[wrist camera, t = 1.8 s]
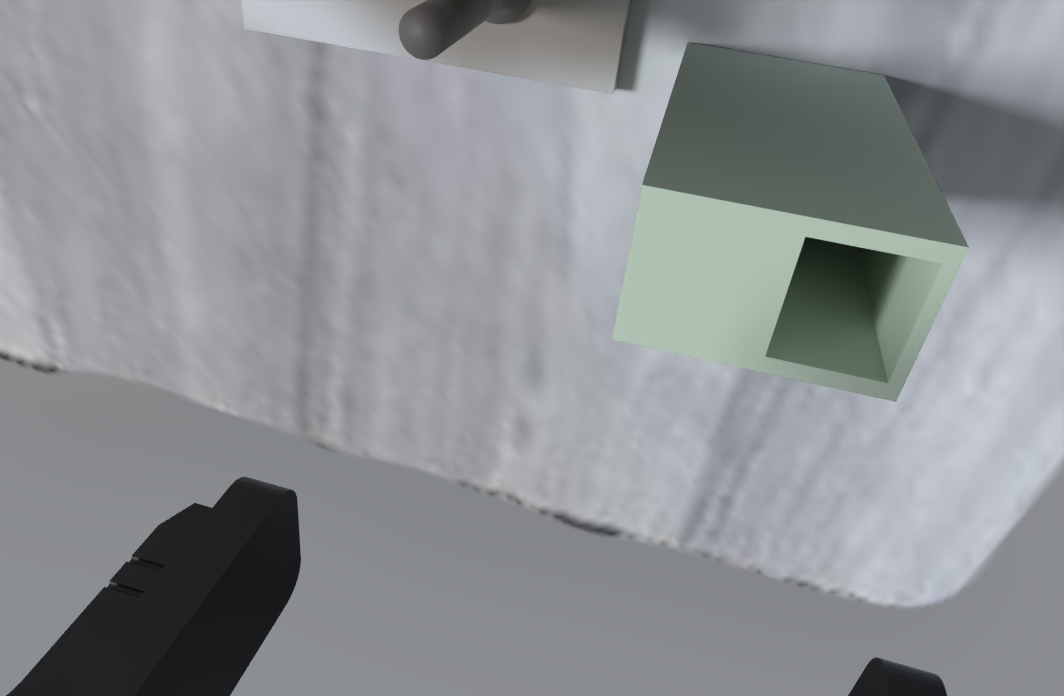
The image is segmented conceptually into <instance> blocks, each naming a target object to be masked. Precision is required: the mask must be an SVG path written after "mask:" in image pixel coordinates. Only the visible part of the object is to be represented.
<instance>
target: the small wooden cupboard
mask: <svg viewBox="0 0 1064 696" xmlns="http://www.w3.org/2000/svg"><path fill="white" fill-rule="evenodd" d="M241 1H242V11H243V21H244V29H249V30H255V31H260V32H266V33H272V34H277V35H283V36H288V37H294V38H300V39H305V40H311V41H317V42H322V43H328V44H334V45H339V46H345V47H351V48H356V49H362V50H368V51H373V52H379V53H385V54H390V55H396V56H401V57H407V58H413V59H418V60H424V61H430V62H435V63H441V64H447V65H452V66H458V67H464V68H469V69H475V70H481V71H486V72H492V73H498V74H503V75H509V76H514V77H520V78H526V79H531V80H537V81H543V82H548V83H554V84H560V85H565V86H571V87H577V88H582V89H588V90H594V91H599V92H605V93H611V94H613V93H614V91H615V89H616V85H617V79H618V73H619V66H620V60H621V54H622V48H623V42H624V36H625V30H626V24H627V18H628V11H629V5H630V0H241Z"/></svg>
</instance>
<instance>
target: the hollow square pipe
mask: <svg viewBox="0 0 1064 696" xmlns="http://www.w3.org/2000/svg"><path fill="white" fill-rule="evenodd" d="M968 248H969V247H968V245H967V243H966V241H965V239H964V237H963V235H962V233H961V231H960V229H959V227H958V225H957V222H956V220H955V218H954V216H953V214H952V212H951V210H950V208H949V206H948V204H947V202H946V200H945V198H944V196H943V194H942V192H941V190H940V188H939V186H938V184H937V182H936V180H935V178H934V176H933V174H932V172H931V170H930V168H929V165H928V163H927V161H926V159H925V157H924V155H923V153H922V151H921V149H920V147H919V145H918V143H917V141H916V139H915V137H914V135H913V133H912V131H911V129H910V127H909V125H908V123H907V121H906V119H905V117H904V115H903V113H902V111H901V108H900V106H899V104H898V102H897V100H896V98H895V96H894V94H893V92H892V90H891V88H890V86H889V84H888V82H887V80H886V78H885V76H884V75H881V74H875V73H869V72H863V71H857V70H851V69H845V68H839V67H833V66H827V65H821V64H815V63H809V62H803V61H797V60H791V59H785V58H779V57H772V56H766V55H760V54H754V53H748V52H742V51H736V50H730V49H724V48H718V47H712V46H706V45H700V44H694V43H687V46H686V50H685V53H684V56H683V59H682V62H681V65H680V68H679V71H678V75H677V78H676V81H675V84H674V87H673V90H672V93H671V96H670V100H669V103H668V106H667V109H666V112H665V115H664V118H663V121H662V124H661V128H660V131H659V134H658V137H657V140H656V143H655V146H654V149H653V153H652V156H651V159H650V162H649V165H648V168H647V171H646V174H645V177H644V181H643V184H642V188H641V193H640V198H639V203H638V208H637V214H636V219H635V224H634V229H633V234H632V239H631V244H630V249H629V254H628V259H627V264H626V270H625V275H624V280H623V285H622V290H621V295H620V300H619V305H618V310H617V315H616V320H615V326H614V331H613V336H612V340H617V341H621V342H626V343H631V344H635V345H640V346H644V347H649V348H653V349H658V350H663V351H667V352H672V353H676V354H681V355H685V356H690V357H694V358H699V359H704V360H708V361H713V362H717V363H722V364H726V365H731V366H735V367H740V368H745V369H749V370H754V371H758V372H763V373H767V374H772V375H777V376H781V377H786V378H790V379H795V380H799V381H804V382H808V383H813V384H818V385H822V386H827V387H831V388H836V389H840V390H845V391H850V392H854V393H859V394H863V395H868V396H872V397H877V398H881V399H886V400H891V401H895V402H896V401H897V398H898V396H899V394H900V392H901V390H902V388H903V386H904V384H905V382H906V379H907V377H908V375H909V373H910V371H911V369H912V367H913V365H914V362H915V360H916V358H917V356H918V354H919V352H920V350H921V348H922V346H923V343H924V341H925V339H926V337H927V335H928V333H929V331H930V329H931V327H932V324H933V322H934V320H935V318H936V316H937V314H938V312H939V310H940V307H941V305H942V303H943V301H944V299H945V297H946V295H947V293H948V291H949V288H950V286H951V284H952V282H953V280H954V278H955V276H956V274H957V271H958V269H959V267H960V265H961V263H962V261H963V259H964V257H965V255H966V252H967V250H968Z"/></svg>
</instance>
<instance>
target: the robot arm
mask: <svg viewBox="0 0 1064 696" xmlns="http://www.w3.org/2000/svg"><path fill="white" fill-rule="evenodd" d="M297 506H298V505H297V496H296V493H295V492H294V491H293V490H290V489H287V488H283V487H279V486H276V485H273V484H269V483H265V482H262V481H259V480H255V479H252V478H248V477H241V478H239V479H237V480H236V481H235V482H234V483H233V484H232V485H231V486H230V487H229V488H228V490H227V491H226V492H225V493H224V494H223V496H222V497H221V498H220V499H219V501H218V502H217V503H216V504H215V506H214V507H213V508H210V507H207V506H204V505H200V504H196V503H194V504H192V505H191V506H189V507H188V508H186V509H184V510H183V511H181V512H179V513H178V514H176V515H174V516H173V517H171V518H170V519H168V520H166V521H165V522H163V523H161V524H160V525H158V527H157V528H156V529H155V530H154V531H153V532H152V533H151V534H150V536H149V537H148V538H147V539H146V540H145V541H144V543H143V544H142V545H141V546H140V547H139V548H138V549H137V550H136V552H135V553H134V554H133V555H132V559H131V561H130V562H126V563H125V564H124V565H123V566H122V568H121V569H120V570H119V571H118V572H117V573H116V574H115V575H114V577H113V578H112V579H111V580H110V584H109V586H108V587H107V588H106V587H104V588H103V589H102V590H101V591H100V593H99V594H98V595H97V596H96V597H95V599H94V600H93V601H92V602H91V603H90V604H89V605H88V606H87V608H86V609H85V610H84V611H83V612H82V613H81V614H80V615H79V617H78V618H77V619H76V620H75V621H74V622H73V623H72V624H71V626H70V627H69V628H68V629H67V630H66V631H65V632H64V634H63V635H62V636H61V637H60V638H59V639H58V640H57V642H56V643H55V644H54V645H53V646H52V647H51V648H50V650H49V651H48V652H47V653H46V654H45V655H44V656H43V658H42V659H41V660H40V661H39V662H38V663H37V664H36V666H35V667H34V668H33V669H32V670H31V671H30V672H29V674H28V675H27V676H26V677H25V678H24V679H23V680H22V681H21V682H20V683H19V684H18V685H17V686H16V687H15V688H14V690H12V691H11V692H10V693H9V694H8V695H6V696H230V694H231V693H232V691H233V690H234V688H235V686H236V685H237V683H238V681H239V680H240V678H241V677H242V675H243V674H244V672H245V670H246V669H247V667H248V666H249V664H250V662H251V660H252V659H253V657H254V656H255V654H256V653H257V651H258V649H259V648H260V646H261V645H262V643H263V641H264V640H265V638H266V636H267V635H268V633H269V631H270V630H271V629H272V627H273V625H274V624H275V622H276V620H277V618H278V617H279V616H280V614H281V612H282V611H283V609H284V607H285V606H286V604H287V603H288V600H289V599H290V597H291V595H292V592H293V590H294V588H295V585H296V582H297V579H298V575H299V570H300V563H301V555H300V538H299V521H298V507H297ZM848 696H947V694H946V690H945V687H944V684H943V682H942V680H941V679H940V677H938V675H936V674H933V673H930V672H926V671H922V670H919V669H916V668H912V667H909V666H905V665H901V664H898V663H894V662H891V661H887V660H884V659H880V658H874V659H872V660H871V661H870V662H869V663H868V665H867V666H866V668H865V669H864V671H863V673H862V674H861V676H860V677H859V679H858V681H857V682H856V684H855V686H854V687H853V689H852V690H851V692H850V694H849V695H848Z"/></svg>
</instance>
